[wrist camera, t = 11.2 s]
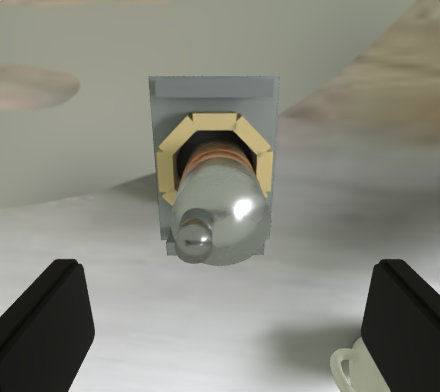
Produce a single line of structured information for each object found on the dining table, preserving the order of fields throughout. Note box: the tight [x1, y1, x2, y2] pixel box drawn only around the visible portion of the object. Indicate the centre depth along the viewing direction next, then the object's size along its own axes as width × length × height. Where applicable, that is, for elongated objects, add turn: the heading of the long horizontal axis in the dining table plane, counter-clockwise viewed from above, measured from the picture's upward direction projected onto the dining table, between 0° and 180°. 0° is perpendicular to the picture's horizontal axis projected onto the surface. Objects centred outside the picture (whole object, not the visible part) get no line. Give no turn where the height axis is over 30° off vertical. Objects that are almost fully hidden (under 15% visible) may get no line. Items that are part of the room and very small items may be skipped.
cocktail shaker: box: [170, 137, 271, 266], centre depth 19 cm, size 5×5×13 cm
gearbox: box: [149, 77, 280, 255], centre depth 28 cm, size 10×14×11 cm
